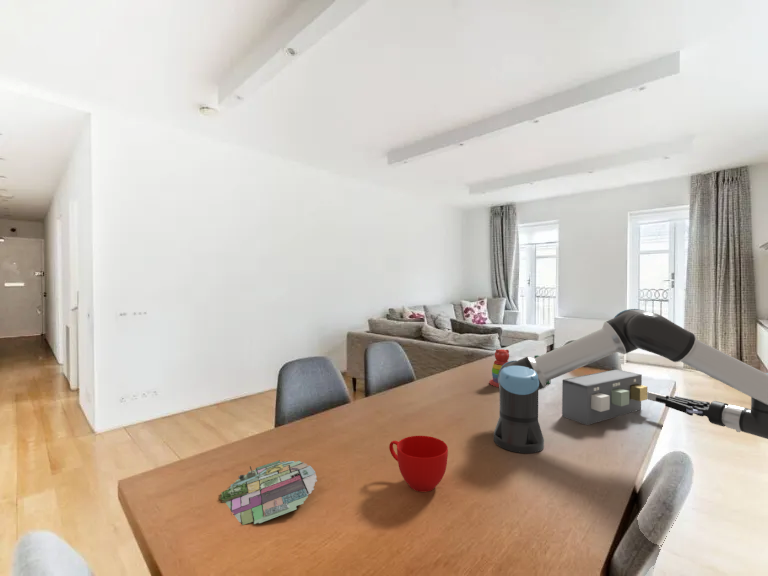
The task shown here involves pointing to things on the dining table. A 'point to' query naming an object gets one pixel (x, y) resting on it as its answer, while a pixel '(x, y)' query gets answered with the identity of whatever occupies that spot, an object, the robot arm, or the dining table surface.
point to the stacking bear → (498, 365)
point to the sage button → (619, 397)
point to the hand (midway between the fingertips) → (648, 395)
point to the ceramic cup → (421, 461)
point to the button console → (582, 387)
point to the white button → (600, 402)
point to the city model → (269, 491)
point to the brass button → (638, 392)
